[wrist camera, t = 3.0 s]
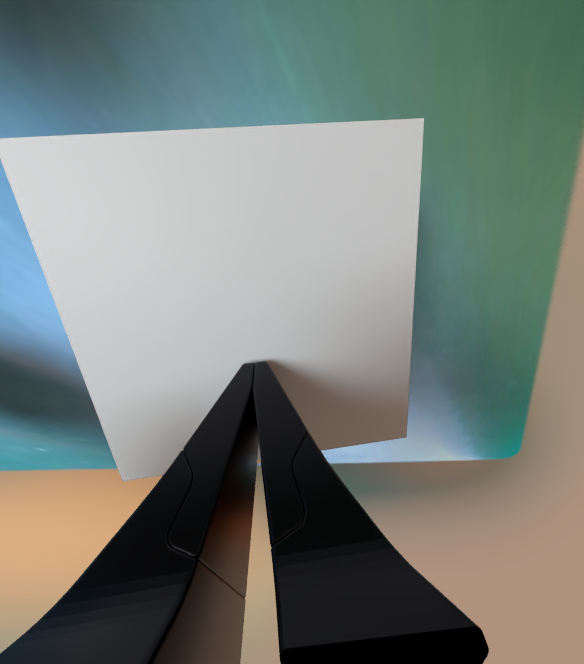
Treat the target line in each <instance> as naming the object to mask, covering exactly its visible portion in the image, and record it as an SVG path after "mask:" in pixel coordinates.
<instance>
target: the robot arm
mask: <svg viewBox="0 0 584 664" xmlns="http://www.w3.org/2000/svg"><path fill="white" fill-rule="evenodd" d="M258 446H259V449H260V458H261V467H262V475H263V483H264V492H265V501H266V510H267V519H268V527H269V535H270V544H271V547H272V548H271V553H272V562H273V572H274V583H275V595H276V608H277V623H278V638H279V653H280V662H281V664H483V662H484V660H485V659H486V657H487V655H488V652H489V648H488V645H487V643H486V640H485V637H484V635H483V632H482V630H481V629H480V628H479V627H478V626H477V625H476V624H475V623H474V622H473V621H471V619H469V618H468V617H467V616H466V615H465V614H464V613H463V612H462V611H461V610H460V609H458V608H457V607H456V606H455V605H454V604H453V603H452V602H451V601H450V600H448V599H447V598H446V597H445V596H444V595H443V594H442V593H441V592H440V591H439V590H438V589H436V588H435V587H434V586H433V585H432V584H431V583H430V582H429V581H428V580H426V579H425V578H424V577H423V576H422V575H421V574H420V573H419V572H418V571H417V570H416V569H414V568H413V567H412V566H411V565H410V564H409V563H408V562H407V561H406V560H405V559H404V558H403V556H402V555H401V554H400V553H399V552H398V551H397V550H396V549H395V548H394V547H393V545H392V544H391V543H390V542H389V541H388V540H387V538H386V537H385V536H384V535H383V533H382V532H381V531H380V530H379V528H378V527H377V526H376V525H375V523H374V522H373V521H372V519H371V518H370V517H369V516H368V514H367V513H366V512H365V510H364V509H363V508H362V507H361V505H360V504H359V503H358V502H357V500H356V499H355V498H354V496H353V495H352V494H351V492H350V491H349V490H348V488H347V487H346V486H345V485H344V483H343V482H342V481H341V479H340V478H339V477H338V475H337V474H336V473H335V471H334V470H333V468H332V467H331V466H330V464H329V463H328V462H327V460H326V459H325V457H324V455H323V454H322V452H321V451H320V449H319V448H318V446H317V444H316V443H315V441H314V439H313V438H312V436H311V434H310V433H309V432H308V430H307V428H306V426H305V425H304V423H303V421H302V419H301V418H300V416H299V414H298V413H297V411H296V409H295V408H294V406H293V404H292V403H291V401H290V399H289V398H288V396H287V394H286V393H285V391H284V389H283V387H282V386H281V384H280V382H279V381H278V379H277V377H276V376H275V374H274V372H273V371H272V369H271V367H270V366H269V364H268V362H267V361H259V362H256V363H254V362H251V363H244V364H242V366H241V367H240V369H239V370H238V371H237V373H236V374H235V376H234V377H233V378H232V380H231V381H230V383H229V384H228V385H227V387H226V388H225V390H224V391H223V393H222V394H221V395H220V397H219V398H218V400H217V401H216V402H215V404H214V405H213V407H212V408H211V409H210V411H209V412H208V414H207V415H206V416H205V418H204V419H203V421H202V422H201V424H200V425H199V426H198V428H197V429H196V431H195V432H194V433H193V435H192V436H191V438H190V439H189V440H188V442H187V443H186V445H185V446H184V447H183V450H184V451H183V450H182V451H180V453H179V454H178V456H177V457H176V459H175V460H174V461H173V463H172V464H171V465H170V467H169V468H168V470H167V471H166V472H165V474H164V475H163V476H162V478H161V479H160V480H159V482H158V483H157V484H156V486H155V487H154V488H153V489H152V491H151V492H150V493H149V495H147V497H146V498H145V499H144V500H143V502H142V503H141V504H140V506H139V507H138V508H137V509H136V510H135V512H134V513H133V514H132V515H131V516H130V518H129V519H128V520H127V521H126V522H125V524H124V525H123V526H122V527H121V528H120V530H119V531H118V532H117V533H116V534H115V536H114V537H113V538H112V539H111V540H110V542H109V543H108V544H107V545H106V546H105V548H104V549H103V550H102V551H101V552H100V554H99V555H98V556H97V557H96V558H95V560H94V561H93V562H92V563H91V564H90V565H89V567H88V568H87V569H86V570H85V571H84V573H83V574H82V575H81V576H80V577H79V579H78V580H77V581H76V582H75V583H74V584H73V586H72V587H71V588H70V589H69V590H68V591H67V592H66V593H65V595H63V597H62V598H61V599H60V600H59V601H58V602H57V603H56V604H55V605H54V606H53V607H52V608H51V609H50V610H49V611H48V612H47V613H46V614H45V615H44V616H43V617H42V618H41V619H40V620H39V621H38V622H37V623H36V624H34V625H33V626H32V627H31V628H30V629H29V630H28V631H27V632H26V633H25V634H24V635H22V636H21V637H20V638H19V639H17V640H16V641H15V642H14V643H13V644H11V645H10V646H9V647H8V648H7V649H5V650H4V651H3V652H2V653H1V654H0V664H240V658H241V646H242V635H243V623H244V610H245V599H244V598H245V597H246V587H247V575H248V563H249V552H250V540H251V528H252V516H253V504H254V492H255V481H256V469H257V458H258Z"/></svg>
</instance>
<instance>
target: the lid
mask: <svg viewBox="0 0 584 664" xmlns="http://www.w3.org/2000/svg"><path fill="white" fill-rule="evenodd" d="M423 127H424V118H420V119H399V120H378V121H357V122H336V123H315V124H294V125H273V126H252V127H231V128H210V129H189V130H168V131H147V132H126V133H105V134H84V135H62V136H41V137H20V138H0V159H1V161H2V164H3V167H4V169H5V172H6V175H7V177H8V180H9V183H10V185H11V188H12V191H13V193H14V196H15V198H16V201H17V204H18V206H19V209H20V212H21V214H22V217H23V220H24V222H25V225H26V227H27V230H28V233H29V235H30V238H31V241H32V243H33V246H34V249H35V251H36V254H37V257H38V259H39V262H40V264H41V267H42V270H43V272H44V275H45V278H46V280H47V283H48V286H49V288H50V291H51V294H52V296H53V299H54V301H55V304H56V307H57V309H58V312H59V315H60V317H61V320H62V323H63V325H64V328H65V331H66V333H67V336H68V338H69V341H70V344H71V346H72V349H73V352H74V354H75V357H76V360H77V362H78V365H79V368H80V370H81V373H82V375H83V378H84V381H85V383H86V386H87V389H88V391H89V394H90V397H91V399H92V402H93V405H94V407H95V410H96V412H97V415H98V418H99V420H100V423H101V426H102V428H103V431H104V434H105V436H106V439H107V442H108V444H109V447H110V449H111V452H112V455H113V457H114V460H115V463H116V465H117V468H118V471H119V473H120V476H121V478H122V481H128V480H134V479H140V478H147V477H153V476H159V475H164V474H165V472H166V471H167V470H168V468H169V467H170V465H171V464H172V463H173V461H174V460H175V459H176V457H177V456H178V454H179V453H180V451H182V450H183V447H184V446H185V445H186V443H187V442H188V440H189V439H190V438H191V436H192V435H193V433H194V432H195V431H196V429H197V428H198V426H199V425H200V424H201V422H202V421H203V419H204V418H205V416H206V415H207V414H208V412H209V411H210V409H211V408H212V407H213V405H214V404H215V402H216V401H217V400H218V398H219V397H220V395H221V394H222V393H223V391H224V390H225V388H226V387H227V385H228V384H229V383H230V381H231V380H232V378H233V377H234V376H235V374H236V373H237V371H238V370H239V369H240V367H241V366H242V364H244V363H251V362H254V363H256V362H259V361H267V362H268V364H269V366H270V367H271V369H272V371H273V372H274V374H275V376H276V377H277V379H278V381H279V382H280V384H281V386H282V387H283V389H284V391H285V393H286V394H287V396H288V398H289V399H290V401H291V403H292V404H293V406H294V408H295V409H296V411H297V413H298V414H299V416H300V418H301V419H302V421H303V423H304V425H305V426H306V428H307V430H308V432H309V433H310V434H311V436H312V438H313V439H314V441H315V443H316V444H317V446H318V448H319V449H320V451H321V450H327V449H334V448H340V447H347V446H353V445H359V444H366V443H372V442H379V441H385V440H392V439H398V438H405V437H406V435H407V416H408V398H409V380H410V362H411V344H412V326H413V308H414V290H415V272H416V254H417V236H418V217H419V199H420V181H421V163H422V145H423ZM183 451H184V450H183ZM257 460H261V458H260V449H259V446H258V458H257Z"/></svg>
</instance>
